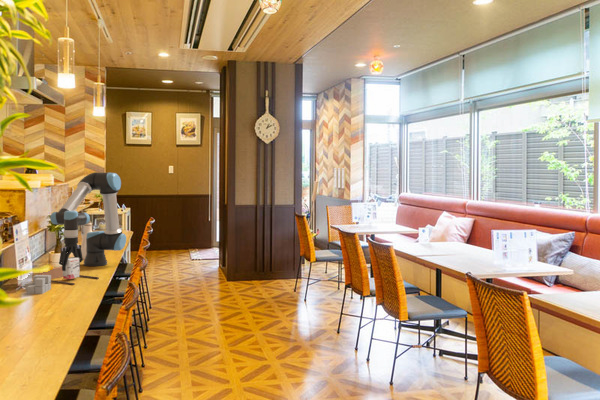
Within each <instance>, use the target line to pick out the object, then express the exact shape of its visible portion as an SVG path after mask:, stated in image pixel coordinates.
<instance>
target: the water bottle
mask: <svg viewBox="0 0 600 400" xmlns="http://www.w3.org/2000/svg"><path fill="white" fill-rule="evenodd" d="M93 225H94V224H93V223H92V220H90V221H89V223H87V224H85V225H80V236H81V244H80V245H81V252H82V257H83V261H85V257H86V237H87V233H89V232H93V229H92V228H93V227H92V226H93Z"/></svg>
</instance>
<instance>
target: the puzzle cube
mask: <svg viewBox="0 0 600 400" xmlns="http://www.w3.org/2000/svg"><path fill="white" fill-rule="evenodd" d="M51 280H52V279H51V275H40V274H35V275H33V276H32V281H31V282H30V281H29V282H26V283H25V287H24V288H25V290H27V291H26V294H27V295H44V294H45V293H46V292H49V291H50V290H51V289H52V282H51Z"/></svg>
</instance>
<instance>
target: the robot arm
mask: <svg viewBox="0 0 600 400" xmlns="http://www.w3.org/2000/svg"><path fill="white" fill-rule="evenodd" d="M76 185H77V186H76V188H75V190H74V191H73V192H72V193H71V195H70V196H69V198H67V200H66V201H65V203H64V204H63V205H62V207H61V208H60V209H59V210H58V211H54V212H52V213H51V214H50V220H49V221H50V222H51V224H53V225H58V226H59V225H61V226H62V225H63V226H64V228H63V235H64V236H63V237H64V238H63V242H64V244H65V245H64V247H60V255H59V259H58V260H59V262H58V264H59V265H60V266H62V271H63V276H67V265H66V264H67V260H68V258H70V255H71V254H72V255H73V257H76V258H79V269H80V268H81V263H82V262H83V266H84V267H102V266H106V265H108V260H107V257H106V253H105V251H114V252H115V251H122V250H123V249H124V248H125V247H126V243H127V235H126V233H123V230H122V228H120V222H119V221H120V220H119V212H118V210H119V209H118V201H117V194H118V193H119V190H121V186H122V180H121V177H120V176H119V174H117V173H116V172H97V171H96V172H91V173H88V174H86V175H85V176H84V177H82V178H81V180H79V182H78V183H77V184H76ZM95 190H96V191H99V194H100V195H101V196H102V202H103V212H104V221H105V230H94V231H92V232H89V233H87V237H86V257H85V260H84V259H83V257H82V252H81V244H78V243H79V237H78V236H79V226H81V225H85V224H87V223H89V221H91V217H90V215H89V214H88V213H87V212H78V211H77V209H78V207H79V206H80V205H81V203H82V202H83V201H84V199H85V198H86V197H87V195H89V194H91V193H92V192H93V191H95Z"/></svg>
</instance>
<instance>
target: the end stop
mask: <svg viewBox="0 0 600 400" xmlns="http://www.w3.org/2000/svg"><path fill="white" fill-rule="evenodd" d="M52 268H53V269H52V270H50V271H48V272H43V273H40V272H39V275H51V280H53V279H58V278H63V271H62V265H60V266H57V267H52Z"/></svg>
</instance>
